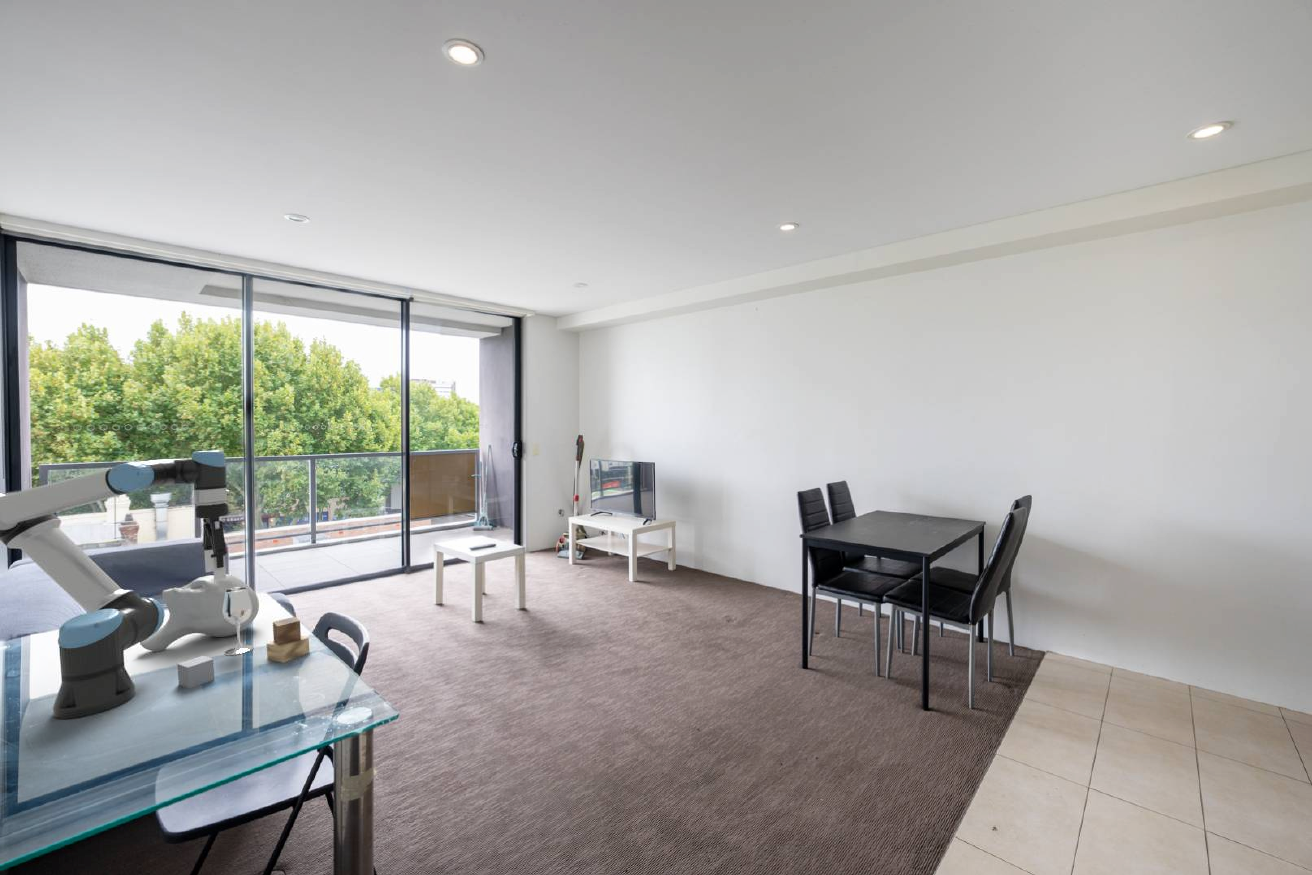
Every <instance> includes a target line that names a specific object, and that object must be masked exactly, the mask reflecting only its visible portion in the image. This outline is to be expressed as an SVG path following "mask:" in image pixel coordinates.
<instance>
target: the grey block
mask: <svg viewBox="0 0 1312 875" xmlns="http://www.w3.org/2000/svg"><path fill="white" fill-rule="evenodd" d="M214 666H215V665H214V659H213V658H211V657H208V656H207V655H206V656H205V655H200V656H198V657H195V658H190V659H188V660H185V661H182V662H179V663H177V676H178V677H177V679H178V685H179V686H181V687H183V688H187V689H192V688H195V687H197V686H200V685H204V684H206V683H208V682H211V681H214V680H215V667H214Z"/></svg>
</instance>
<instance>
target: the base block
mask: <svg viewBox="0 0 1312 875" xmlns="http://www.w3.org/2000/svg"><path fill="white" fill-rule="evenodd" d="M309 639H310V638H309V637H307V636H302V635H301V640H298V641H294V642H291V643H287V644H283V645H279V646H278V645H277V644H276V643H275V642H274V640H273V641H270V642H268V643H266V655H267V659H268V660H271V661H276V662H279V663H286V662H288V661H291V660H294V659H296V658H299V657H301V656H304V655H306V654H309V653H310V640H309Z"/></svg>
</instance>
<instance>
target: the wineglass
mask: <svg viewBox="0 0 1312 875" xmlns="http://www.w3.org/2000/svg"><path fill="white" fill-rule="evenodd" d="M251 613H252V604H251V600H250V597H249V594H248V591H247V588H246V587H237V588H232V589H228V590H226V591H225V595H224V599H223V605H222V618H223V620H224V621H225V622H227V623H229V624H231V625H235V626H236V629H237V634H236V636H237V637H236V638H237V645H236V646H234V647H232V648H229V649H227V650H226V651H225V652H224V655H226V656H236V655H241V654H245V653H248V652H250V651H252V650H253V649H254V645H251V644H246V645H243V644H242V643H241V632H240V624H242V623H243V622H245V621H246V620H247V619H248V618H249V617H250V615H251Z"/></svg>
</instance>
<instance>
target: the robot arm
mask: <svg viewBox="0 0 1312 875" xmlns="http://www.w3.org/2000/svg"><path fill="white" fill-rule="evenodd" d="M180 485H193V488H194V489H193V495H194V496H193V498H194V504H197V505H196V506H195V507H194V508H195V509H194V510H195V518H197V519H202V521H203V524H202V527H203V529H202V531H203V532H202V533H203V534H202V537H203V538H202V548H203V551H204V567H205V568H204V569H205V573H211V572H213V575H214V580H218V579H223V578H226V574H227V567H226V566H227V564H226V555H227V548H226V546H227V545H226V541H225V533H224V527H223V526H224V524H223V523H224V522H223V520H220V517H225V516H228V515H229V503H228V502H227V501H228V494H230V490H228V487H227V486H228V484H227V463H226V455H225V452H224V451H222V450H219V449H217V450H200V451H194V452H192V454H191V457H190V458H160V459H151V460H146V461H145V460H144V461H129V462H124V463H121V464H118V465H115V466H114V467H110V468H107V469H103V470H99V471H96V472H91V473H87V474H83V475H79V476H75V477H71V478H68V479H64V480H63V479H62V480H59V481H55V482H51V483H49V484H43V485H40V486H35V487H32V488H28V489H27V488H26V489H24V490H14V491H13V490H12V491H9V492H3V493H0V541H1V542H2V543H3V544H4V545H5V546H6V547H7V548H8V549H18V550H21V551H22V552H24V554H25V555H26V556H27V557H29V558H30V559H31V561H33V562H34V563H35V564H36V565H37V566H38V568H40V569H42V571H43V572H44V573H46V575H48V576H49V577H50V578H51V580H53V581H54V582H55V583H56V584H57V585H58V586H59V587H60V588H62V590H64V591H65V592H66V593H67V595H69V596H70V597H71V598H72V599H73V600H74V601H75V602H76V603H77V604H78V605H79V606H80V607H82V608H83V610H85V611H86V613H82V614H79V615H76V616H74V617H72V618H70V619H68V620H66V621H65V622H63V623H62V624H61V626H60V628H59V630H58V638H57V644H58V646H59V647H58V649H59V660H60V661H59V663H60V674H61V675H60V676H61V684H60V686H59V690H58V693H57V695H56V697H55V701H54V703H53V707H52V711H53V713H52V714H53V717H54V718H55V719H60V720H63V719H67V720H68V719H69V720H70V719H77V718H83V717H86V716H91V715H95V714H97V713H98V714H99V713H101V712H104V711H108V710H110V709H112V708H115V707H118V706H121V705H122V704H124V703H127V702H128V701H129V700H131V699H132V698H133V697H134V696H135V695H136V686H135V684H134V681H133V680H132V678H131V676H130V674H129V672H128V671H127V670H126V667H125V653H124V651H126V650H128V649H130V648H131V647H133V646H136V645H137V644H138V643H139V644H140V642H142V641H144V640H146V639H148V638H149V637H150V636H151V635H153V634H154V633H156V632H157V631H158V630H160V629H161V628H162V627H163V626H162V625H163V624H164V619H165V615H166V614H165V610H164V607H163V605H162V604H161V603H160V602H159V601H158V600H156V599H155V598H151V597H141V596H140V595H139V594H138V593H137V592H136V591H135V590H133V589H122V588H121V587H120V585H118V584H117V582H115V581H114V580H113V579H112V578H111V577H110V576H109V575H108V574H107V573H106V572H105V571H104V570H103V569H102V568H101V567H99V565H98V564H97V563H96V562H95V561H93V559H92V558H90V557H89V555H87V554H86V553H85V551H83V550H82V549H81V548H80V547H79V546H78V545H77V544H76V543H75V542H74V541H73V540H72V539H71V538H69V536H67V534H66V533H65V532H64V531H62V530H61V528H60V527H61V524H62V520H61V519H60V518H59V513H60V512H64V511H66V510H70V509H74V508H79V507H81V506H85V505H89V504H92V503H97V502H100V501H105V500H108V499H112V498H115V497H118V496H122V495H123V496H124V495H127V494H132V493H135V492H140V491H144V490H149V489H154V488H162V487H167V486H180Z"/></svg>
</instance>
